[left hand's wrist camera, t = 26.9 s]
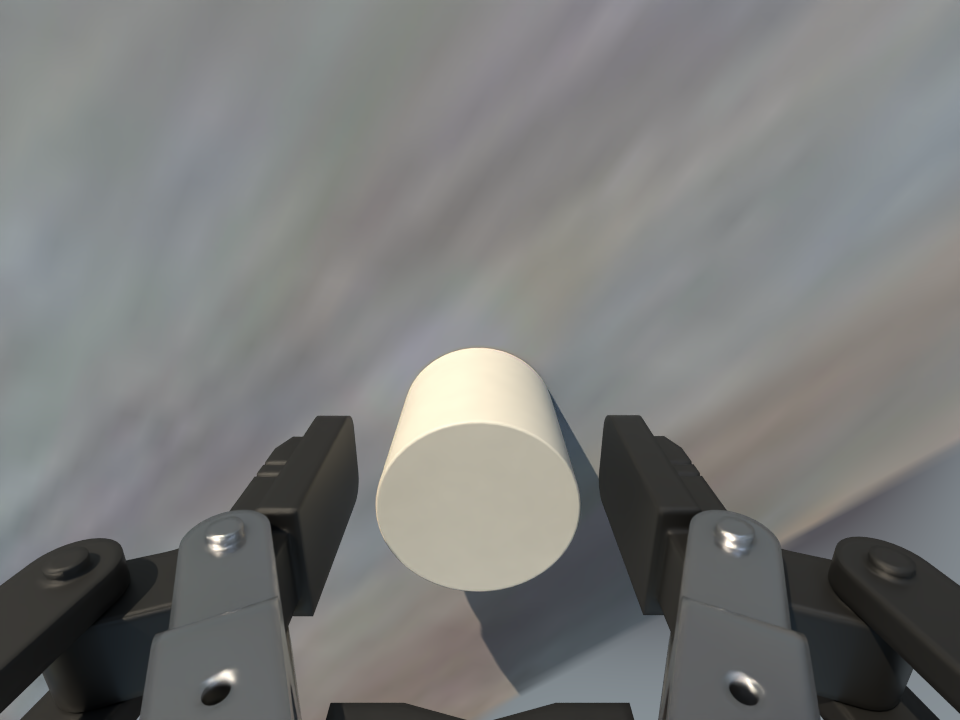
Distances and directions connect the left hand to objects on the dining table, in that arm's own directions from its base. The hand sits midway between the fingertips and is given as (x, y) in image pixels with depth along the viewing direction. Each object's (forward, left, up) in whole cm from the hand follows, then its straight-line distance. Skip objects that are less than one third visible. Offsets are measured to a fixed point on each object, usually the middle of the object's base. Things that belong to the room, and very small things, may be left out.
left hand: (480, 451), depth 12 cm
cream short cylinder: (0, 0, -2) cm, 2 cm away
